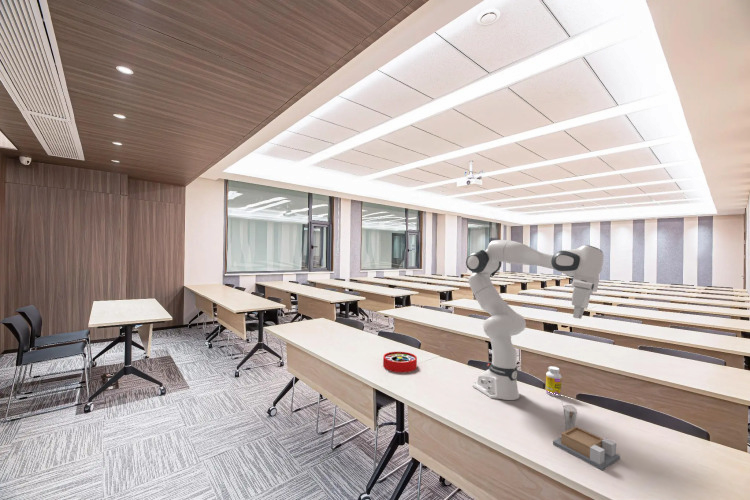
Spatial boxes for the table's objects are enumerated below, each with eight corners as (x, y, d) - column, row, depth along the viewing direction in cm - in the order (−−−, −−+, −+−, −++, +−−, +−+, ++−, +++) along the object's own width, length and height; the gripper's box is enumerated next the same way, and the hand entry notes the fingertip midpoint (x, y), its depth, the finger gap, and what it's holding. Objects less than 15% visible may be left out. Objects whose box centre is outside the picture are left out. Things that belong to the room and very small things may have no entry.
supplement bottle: (554, 397, 155) (555, 371, 155) (542, 392, 161) (543, 366, 161) (564, 395, 157) (564, 369, 157) (552, 390, 164) (552, 364, 164)
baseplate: (553, 444, 117) (553, 430, 117) (570, 435, 123) (571, 421, 123) (602, 470, 103) (602, 454, 103) (619, 458, 109) (620, 443, 109)
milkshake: (561, 423, 131) (562, 399, 131) (577, 428, 128) (577, 403, 128) (559, 428, 128) (560, 403, 128) (575, 433, 124) (576, 407, 124)
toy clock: (392, 349, 207) (422, 355, 197) (392, 358, 207) (421, 364, 197) (377, 358, 190) (408, 365, 180) (377, 368, 190) (408, 375, 180)
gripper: (578, 285, 142) (571, 316, 141) (572, 280, 126) (564, 315, 126) (595, 289, 138) (588, 320, 137) (591, 284, 122) (583, 320, 122)
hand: (577, 318), depth 131 cm, fingers open, 8 cm apart
